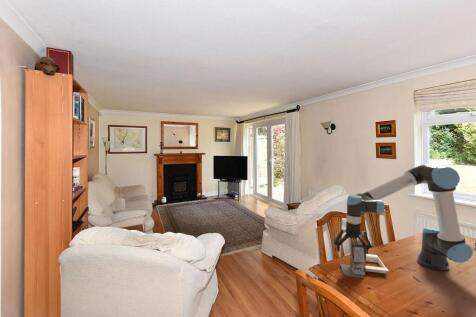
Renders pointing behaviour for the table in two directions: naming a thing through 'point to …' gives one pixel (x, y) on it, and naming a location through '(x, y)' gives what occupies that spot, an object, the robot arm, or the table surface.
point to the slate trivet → (349, 271)
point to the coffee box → (358, 257)
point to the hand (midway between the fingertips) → (351, 257)
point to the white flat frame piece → (376, 259)
